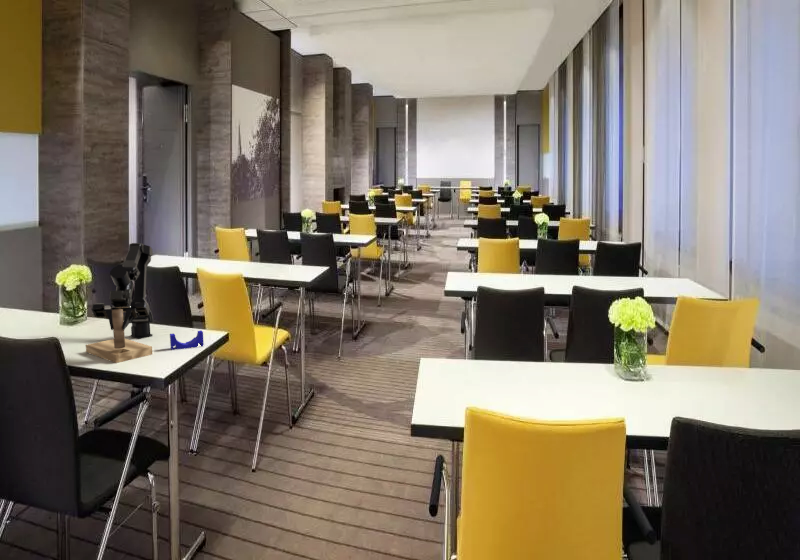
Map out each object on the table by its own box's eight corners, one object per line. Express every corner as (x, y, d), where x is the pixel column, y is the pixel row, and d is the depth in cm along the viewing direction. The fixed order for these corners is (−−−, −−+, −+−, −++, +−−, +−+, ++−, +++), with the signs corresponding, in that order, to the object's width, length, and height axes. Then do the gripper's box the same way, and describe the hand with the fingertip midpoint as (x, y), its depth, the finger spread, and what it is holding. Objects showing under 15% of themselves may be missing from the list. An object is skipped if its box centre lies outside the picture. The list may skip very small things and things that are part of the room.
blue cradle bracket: (201, 343, 235) (200, 329, 234) (203, 346, 231) (203, 332, 230) (170, 347, 229) (169, 332, 228) (171, 350, 225) (171, 335, 224)
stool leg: (119, 345, 214) (116, 308, 212) (127, 346, 213) (125, 309, 211) (112, 348, 210) (109, 310, 208) (120, 348, 210) (117, 311, 207)
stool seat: (121, 344, 231) (121, 337, 231) (152, 354, 219) (151, 346, 218) (86, 352, 220) (85, 344, 219) (116, 363, 208) (115, 354, 207)
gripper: (91, 282, 210) (83, 318, 201) (145, 281, 213) (140, 316, 205) (99, 299, 219) (92, 334, 210) (151, 297, 222) (146, 332, 214)
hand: (117, 329), depth 209 cm, fingers closed on stool leg, 4 cm apart
